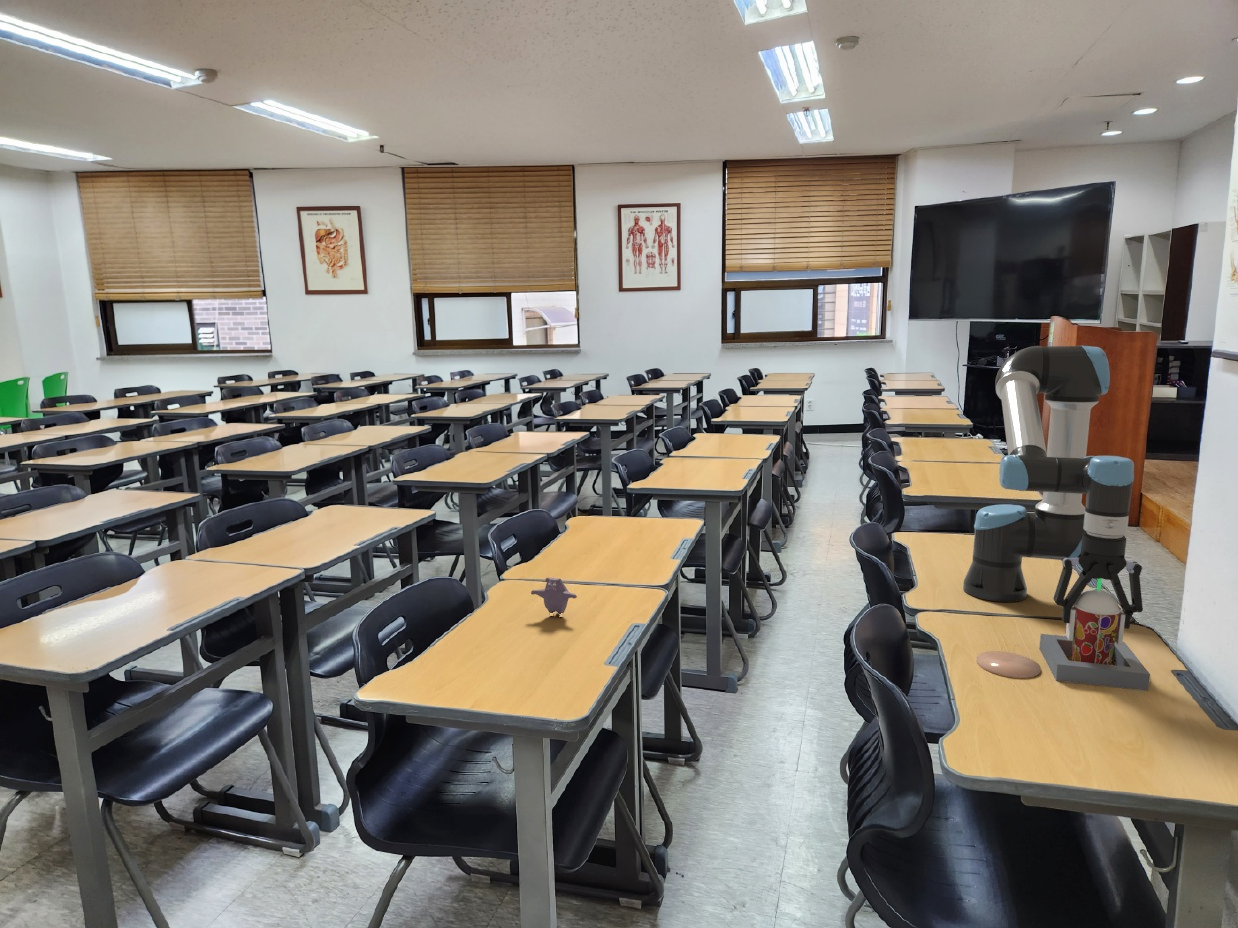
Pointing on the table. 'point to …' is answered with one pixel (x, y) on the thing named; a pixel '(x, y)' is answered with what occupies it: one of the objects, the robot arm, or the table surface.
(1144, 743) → the table surface
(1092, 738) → the table surface
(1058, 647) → the holder
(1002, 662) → the pink flat disc
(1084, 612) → the smoothie
